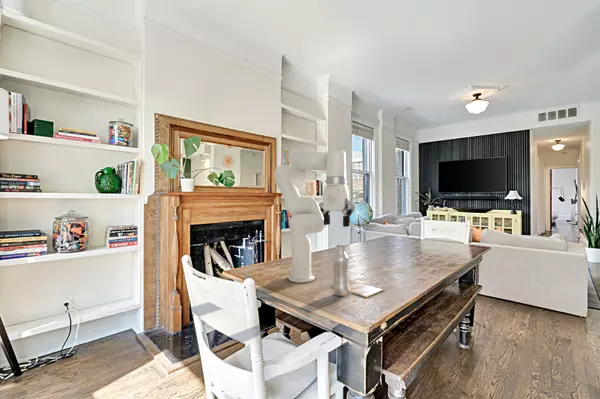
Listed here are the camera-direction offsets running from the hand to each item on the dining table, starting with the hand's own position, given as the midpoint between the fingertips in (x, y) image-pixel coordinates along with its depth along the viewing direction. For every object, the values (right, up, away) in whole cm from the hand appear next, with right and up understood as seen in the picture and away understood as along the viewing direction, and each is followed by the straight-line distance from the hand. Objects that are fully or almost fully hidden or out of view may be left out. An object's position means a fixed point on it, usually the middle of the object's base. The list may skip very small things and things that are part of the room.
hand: (336, 225), depth 111 cm
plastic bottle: (+2, -29, +4) cm, 29 cm away
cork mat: (+11, -29, +11) cm, 32 cm away
